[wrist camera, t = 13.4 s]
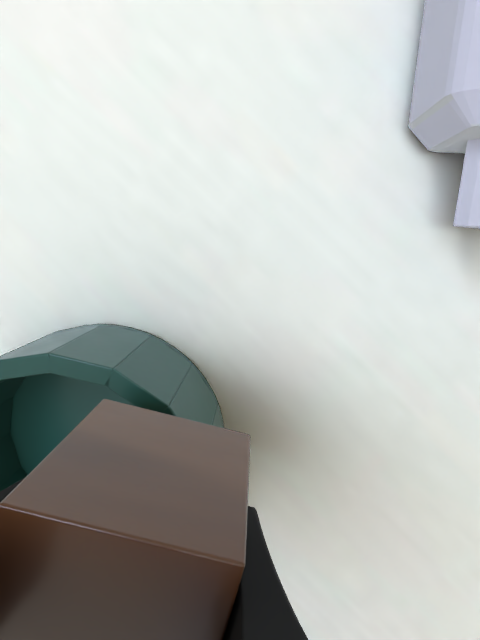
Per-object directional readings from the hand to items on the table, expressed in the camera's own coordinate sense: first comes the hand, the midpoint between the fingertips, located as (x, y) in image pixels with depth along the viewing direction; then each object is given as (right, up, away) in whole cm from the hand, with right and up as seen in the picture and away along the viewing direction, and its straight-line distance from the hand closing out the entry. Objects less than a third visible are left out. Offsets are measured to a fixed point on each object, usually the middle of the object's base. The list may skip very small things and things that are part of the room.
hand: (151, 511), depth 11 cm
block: (0, 0, +1) cm, 1 cm away
